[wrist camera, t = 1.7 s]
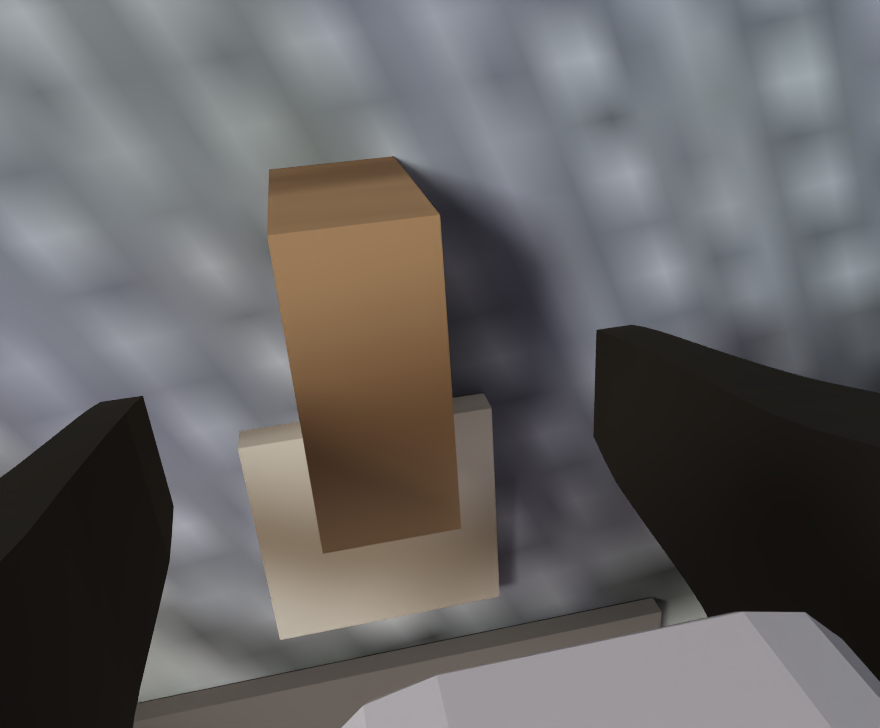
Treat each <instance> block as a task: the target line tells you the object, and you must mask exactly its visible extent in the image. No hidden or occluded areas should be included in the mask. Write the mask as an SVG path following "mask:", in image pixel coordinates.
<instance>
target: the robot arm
mask: <svg viewBox="0 0 880 728" xmlns="http://www.w3.org/2000/svg"><path fill="white" fill-rule="evenodd" d="M594 438H595V441H596V443H597V445H598V447H599V449H600V451H601V453H602V455H603V457H604V460H605V462H606V464H607V466H608V467H609V469H610V471H611V473H612V475H613V477H614V479H615V481H616V483H617V484H618V486H619V487H620V489H621V490H622V492H623V493H624V495H625V496H626V497H627V499H628V500H629V502H630V503H631V505H632V506H633V508H634V509H635V510H636V512H637V513H638V515H639V516H640V518H641V519H642V520H643V522H644V523H645V525H646V526H647V527H648V529H649V530H650V532H651V533H652V534H653V536H654V537H655V539H656V540H657V541H658V543H659V544H660V546H661V547H662V548H663V550H664V551H665V553H666V554H667V555H668V557H669V558H670V560H671V561H672V562H673V564H674V565H675V567H676V568H677V569H678V571H679V572H680V574H681V575H682V576H683V578H684V579H685V581H686V582H687V584H688V585H689V587H690V588H691V590H692V591H693V593H694V594H695V596H696V598H697V599H698V601H699V602H700V604H701V605H702V607H703V609H704V611H705V613H706V614H707V616H708V617H707V618H703V619H698V620H693V621H688V622H683V623H679V624H674V625H669V626H664V627H659V628H655V629H650V630H645V631H640V632H635V633H630V634H626V635H621V636H616V637H611V638H606V639H602V640H597V641H592V642H587V643H582V644H578V645H573V646H568V647H563V648H558V649H553V650H549V651H544V652H539V653H534V654H529V655H525V656H520V657H515V658H510V659H505V660H501V661H496V662H491V663H486V664H481V665H476V666H472V667H467V668H462V669H457V670H452V671H448V672H443V673H438V674H434V675H431V676H429V677H427V678H424V679H422V680H419V681H417V682H414V683H412V684H409V685H407V686H405V687H402V688H400V689H397V690H395V691H392V692H390V693H388V694H385V695H383V696H380V697H378V698H375V699H373V700H370V701H369V702H368V703H366V704H365V705H363V706H362V707H361V708H360V709H359V710H358V711H357V712H356V713H355V714H354V715H353V716H352V717H351V718H350V719H349V721H348V722H347V723H346V724H345V725H344V726H343V727H342V728H880V393H877V392H871V391H866V390H861V389H856V388H851V387H847V386H842V385H837V384H832V383H828V382H823V381H819V380H815V379H811V378H807V377H803V376H799V375H796V374H792V373H788V372H785V371H781V370H778V369H774V368H771V367H767V366H764V365H761V364H757V363H754V362H751V361H748V360H745V359H741V358H738V357H735V356H732V355H729V354H726V353H723V352H720V351H717V350H714V349H711V348H708V347H706V346H703V345H700V344H697V343H694V342H691V341H688V340H685V339H682V338H679V337H676V336H673V335H670V334H667V333H663V332H660V331H657V330H653V329H650V328H646V327H641V326H636V325H628V326H621V327H614V328H607V329H600V330H597V334H596V368H595V402H594ZM173 507H174V506H173V503H172V499H171V495H170V492H169V488H168V485H167V481H166V477H165V474H164V470H163V467H162V463H161V459H160V456H159V452H158V449H157V445H156V441H155V438H154V434H153V431H152V427H151V424H150V420H149V416H148V413H147V409H146V406H145V402H144V398H143V396H139V397H132V398H125V399H118V400H111V401H104V402H100V403H98V404H97V405H95V406H93V407H92V408H90V409H89V410H87V411H86V412H84V413H83V414H82V415H80V416H79V417H78V418H76V419H75V420H74V421H73V422H71V423H70V424H69V425H68V426H66V427H65V428H64V429H62V430H61V431H60V432H59V433H57V434H56V435H55V436H54V437H52V438H51V439H50V440H49V441H47V442H46V443H45V444H44V445H42V446H41V447H40V448H39V449H37V450H36V451H35V452H33V453H32V454H31V455H30V456H28V457H27V458H26V459H25V460H23V461H22V462H21V463H20V464H18V465H17V466H16V467H14V468H13V469H12V470H10V471H9V472H8V473H6V474H5V475H3V476H2V477H1V478H0V728H133V724H134V717H135V712H136V707H137V701H138V696H139V690H140V686H141V682H142V678H143V673H144V669H145V665H146V661H147V656H148V652H149V648H150V644H151V640H152V635H153V631H154V627H155V623H156V618H157V614H158V610H159V606H160V601H161V597H162V593H163V588H164V584H165V579H166V575H167V570H168V566H169V560H170V549H171V538H172V523H173Z"/></svg>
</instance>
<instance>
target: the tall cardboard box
mask: <svg viewBox="0 0 880 728" xmlns="http://www.w3.org/2000/svg"><path fill="white" fill-rule="evenodd" d="M267 237H268V243H269V248H270V254H271V260H272V266H273V271H274V277H275V283H276V289H277V294H278V300H279V306H280V311H281V317H282V323H283V329H284V334H285V340H286V346H287V352H288V357H289V363H290V369H291V375H292V380H293V386H294V392H295V397H296V403H297V409H298V415H299V420H300V422H296V423H290V424H283V425H277V426H271V427H264V428H258V429H252V430H245V431H239V442H238V451H239V455H240V460H241V464H242V469H243V474H244V478H245V483H246V487H247V492H248V496H249V501H250V505H251V510H252V514H253V519H254V523H255V528H256V532H257V537H258V541H259V546H260V550H261V555H262V559H263V564H264V568H265V573H266V577H267V582H268V587H269V591H270V596H271V600H272V605H273V609H274V614H275V618H276V623H277V627H278V632H279V636H280V640H282V639H287V638H292V637H298V636H303V635H308V634H313V633H318V632H323V631H328V630H333V629H338V628H343V627H348V626H353V625H358V624H363V623H368V622H373V621H378V620H383V619H388V618H393V617H398V616H404V615H409V614H414V613H419V612H424V611H429V610H434V609H439V608H444V607H449V606H454V605H459V604H464V603H469V602H474V601H479V600H484V599H489V598H494V597H499V572H498V548H497V524H496V501H495V477H494V453H493V429H492V408H491V406H490V404H489V402H488V400H487V399H486V397H485V395H484V393H481V394H475V395H468V396H462V397H455V398H452V383H451V369H450V354H449V339H448V325H447V310H446V295H445V281H444V266H443V251H442V237H441V222H440V214H439V213H438V212H437V210H436V209H435V208H434V207H433V205H432V204H431V203H430V202H429V200H428V199H427V198H426V196H425V195H424V194H423V193H422V191H421V190H420V189H419V188H418V186H417V185H416V184H415V183H414V181H413V180H412V179H411V177H410V176H409V175H408V174H407V172H406V171H405V170H404V169H403V167H402V166H401V165H400V164H399V162H398V161H397V160H396V158H395V157H394V156H392V157H383V158H373V159H364V160H355V161H345V162H336V163H327V164H317V165H308V166H299V167H289V168H280V169H270V170H269V194H268V227H267Z"/></svg>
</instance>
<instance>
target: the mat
mask: <svg viewBox="0 0 880 728" xmlns="http://www.w3.org/2000/svg"><path fill="white" fill-rule="evenodd" d="M661 614H662V611H661V610H660V608H659V607H658V605H657V604H656V602H655V600H654V599H653V598H649V599H644V600H639V601H634V602H629V603H624V604H619V605H615V606H610V607H605V608H600V609H595V610H590V611H585V612H581V613H576V614H571V615H566V616H561V617H556V618H551V619H547V620H542V621H537V622H532V623H527V624H522V625H517V626H512V627H508V628H503V629H498V630H493V631H488V632H483V633H478V634H474V635H469V636H464V637H459V638H454V639H449V640H444V641H439V642H435V643H430V644H425V645H420V646H415V647H410V648H405V649H401V650H396V651H391V652H386V653H381V654H376V655H371V656H367V657H362V658H357V659H352V660H347V661H342V662H337V663H332V664H328V665H323V666H318V667H313V668H308V669H303V670H298V671H294V672H289V673H284V674H279V675H274V676H269V677H264V678H259V679H255V680H250V681H245V682H240V683H235V684H230V685H225V686H221V687H216V688H211V689H206V690H201V691H196V692H191V693H187V694H182V695H177V696H172V697H167V698H162V699H157V700H152V701H148V702H143V703H138V704H137V707H136V712H135V717H134V724H133V728H342V727H343V726H344V725H345V724H346V723H347V722H348V721H349V719H350V718H351V717H352V716H353V715H354V714H355V713H356V712H357V711H358V710H359V709H360V708H361V707H362V706H363V705H365V704H366V703H368V702H369V701H370V700H373V699H375V698H378V697H380V696H383V695H385V694H388V693H390V692H392V691H395V690H397V689H400V688H402V687H405V686H407V685H409V684H412V683H414V682H417V681H419V680H422V679H424V678H427V677H429V676H431V675H434V674H438V673H443V672H448V671H452V670H457V669H462V668H467V667H472V666H476V665H481V664H486V663H491V662H496V661H501V660H505V659H510V658H515V657H520V656H525V655H529V654H534V653H539V652H544V651H549V650H553V649H558V648H563V647H568V646H573V645H578V644H582V643H587V642H592V641H597V640H602V639H606V638H611V637H616V636H621V635H626V634H630V633H635V632H640V631H645V630H650V629H655V628H659V627H660V626H661Z"/></svg>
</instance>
